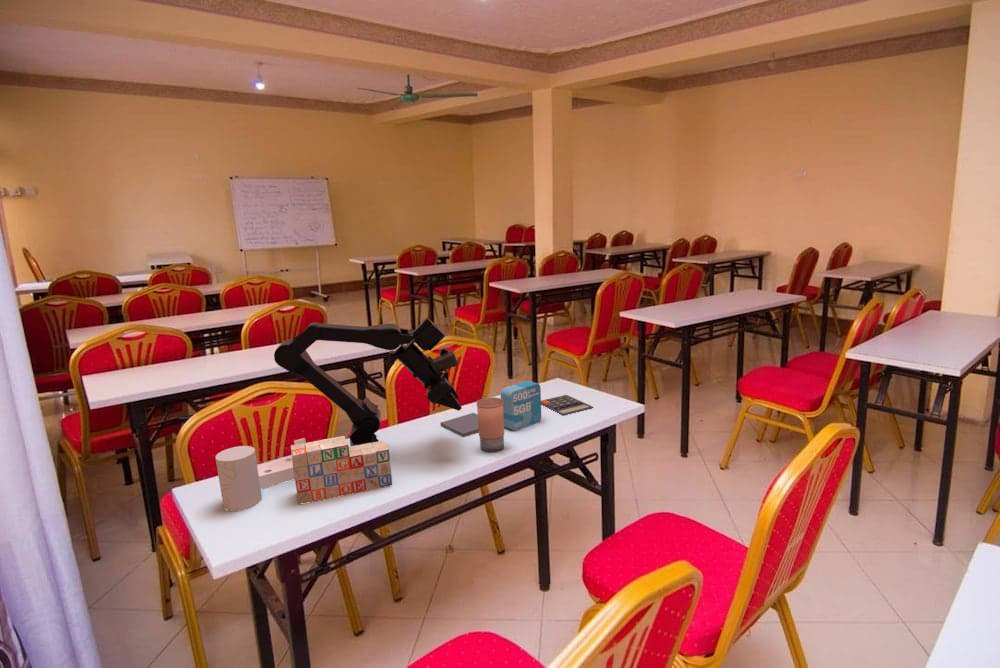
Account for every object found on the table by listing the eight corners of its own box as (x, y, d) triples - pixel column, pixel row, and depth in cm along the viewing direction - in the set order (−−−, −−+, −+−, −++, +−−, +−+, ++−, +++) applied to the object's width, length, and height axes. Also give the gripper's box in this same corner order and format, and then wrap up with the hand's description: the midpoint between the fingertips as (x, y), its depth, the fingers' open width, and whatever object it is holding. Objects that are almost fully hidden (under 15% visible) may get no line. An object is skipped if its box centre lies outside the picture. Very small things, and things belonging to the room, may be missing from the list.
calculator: (566, 394, 198) (593, 406, 185) (566, 396, 198) (593, 409, 185) (536, 401, 193) (562, 414, 180) (536, 403, 193) (562, 417, 180)
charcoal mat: (463, 437, 167) (463, 433, 167) (440, 425, 176) (440, 422, 176) (497, 426, 174) (496, 422, 174) (473, 415, 183) (473, 412, 183)
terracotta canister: (487, 441, 153) (485, 408, 151) (473, 433, 159) (471, 401, 157) (509, 434, 157) (508, 402, 155) (495, 427, 163) (494, 395, 161)
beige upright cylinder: (218, 503, 135) (210, 454, 133) (253, 490, 141) (246, 443, 138) (231, 515, 130) (223, 464, 127) (267, 501, 135) (260, 452, 133)
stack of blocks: (387, 475, 146) (383, 428, 143) (392, 486, 140) (388, 437, 137) (296, 493, 138) (290, 444, 136) (297, 505, 133) (291, 454, 130)
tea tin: (488, 454, 154) (487, 440, 154) (475, 447, 160) (475, 433, 159) (508, 448, 158) (508, 434, 157) (496, 441, 163) (495, 427, 162)
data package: (512, 432, 169) (510, 392, 166) (501, 428, 172) (499, 388, 170) (541, 420, 177) (540, 382, 174) (531, 417, 180) (530, 379, 177)
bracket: (307, 465, 154) (304, 438, 152) (315, 474, 148) (312, 446, 147) (255, 479, 147) (250, 451, 146) (261, 490, 141) (256, 460, 140)
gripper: (442, 349, 143) (485, 393, 147) (438, 333, 161) (477, 373, 165) (408, 381, 144) (453, 424, 147) (408, 361, 162) (448, 400, 166)
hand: (459, 403), depth 156 cm, fingers open, 9 cm apart
